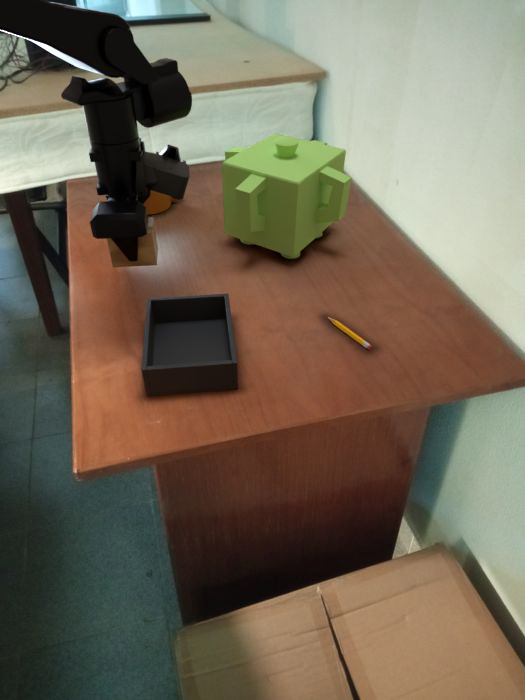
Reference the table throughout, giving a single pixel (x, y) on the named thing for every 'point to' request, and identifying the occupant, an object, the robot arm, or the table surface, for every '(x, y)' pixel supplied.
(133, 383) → the table surface
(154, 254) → the package
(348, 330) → the pencil
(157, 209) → the mug
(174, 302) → the bin
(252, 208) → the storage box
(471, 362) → the table surface
